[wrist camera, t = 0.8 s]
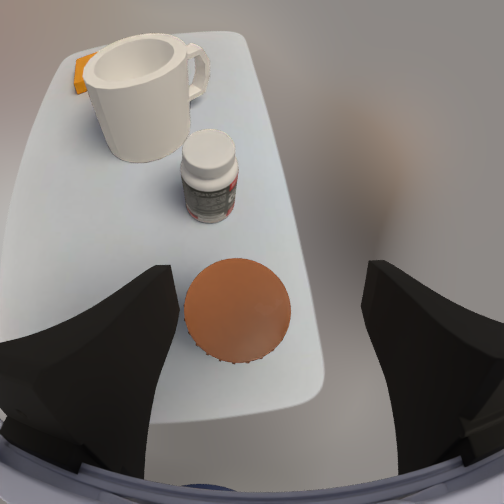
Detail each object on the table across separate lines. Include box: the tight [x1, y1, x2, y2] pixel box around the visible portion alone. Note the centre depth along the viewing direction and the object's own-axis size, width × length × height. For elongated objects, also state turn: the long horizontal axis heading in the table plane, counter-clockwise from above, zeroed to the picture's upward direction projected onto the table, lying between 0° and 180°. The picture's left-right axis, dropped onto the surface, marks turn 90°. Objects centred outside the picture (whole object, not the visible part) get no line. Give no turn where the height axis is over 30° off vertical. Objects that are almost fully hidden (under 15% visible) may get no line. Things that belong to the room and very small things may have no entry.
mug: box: [83, 33, 210, 163], centre depth 27 cm, size 14×10×11 cm
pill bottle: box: [181, 129, 238, 223], centre depth 25 cm, size 5×5×8 cm
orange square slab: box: [74, 51, 99, 94], centre depth 33 cm, size 8×8×4 cm
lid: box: [184, 258, 291, 364], centre depth 16 cm, size 6×6×2 cm
